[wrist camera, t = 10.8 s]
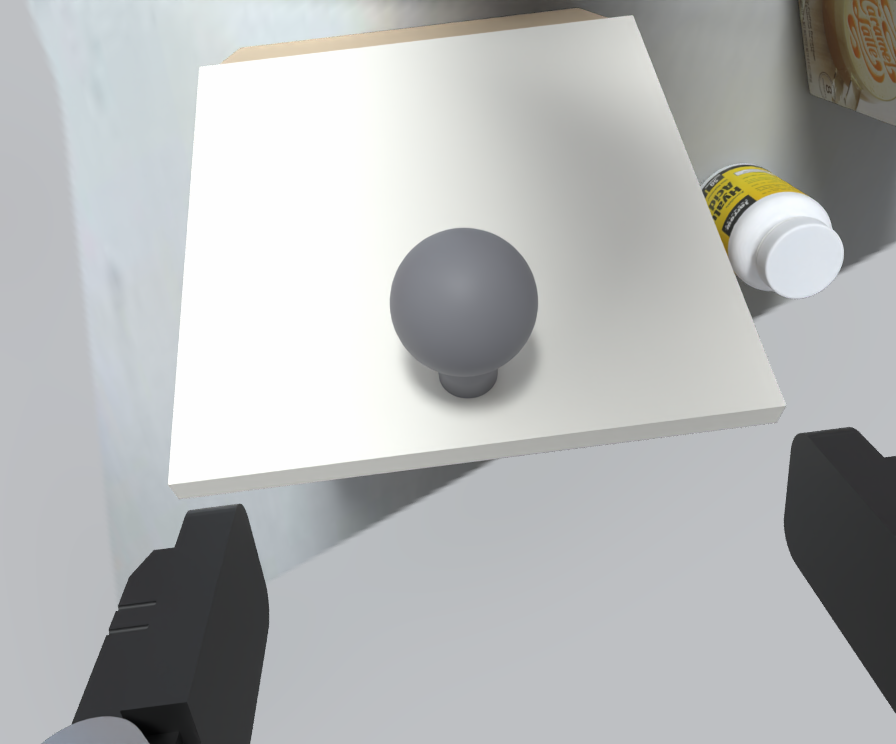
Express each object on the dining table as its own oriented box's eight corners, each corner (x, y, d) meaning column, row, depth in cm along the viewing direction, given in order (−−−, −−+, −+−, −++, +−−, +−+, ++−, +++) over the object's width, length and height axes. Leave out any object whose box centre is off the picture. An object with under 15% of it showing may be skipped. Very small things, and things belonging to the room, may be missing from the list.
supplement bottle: (702, 155, 49) (772, 202, 40) (789, 167, 49) (877, 215, 41) (677, 244, 51) (739, 306, 42) (761, 254, 52) (838, 317, 43)
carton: (240, 48, 44) (205, 75, 35) (578, 7, 45) (627, 24, 36) (305, 366, 53) (291, 452, 44) (587, 331, 53) (629, 409, 45)
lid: (206, 86, 35) (152, -65, 30) (629, 36, 36) (652, -123, 30) (179, 499, 25) (88, 382, 19) (776, 422, 25) (852, 286, 20)
